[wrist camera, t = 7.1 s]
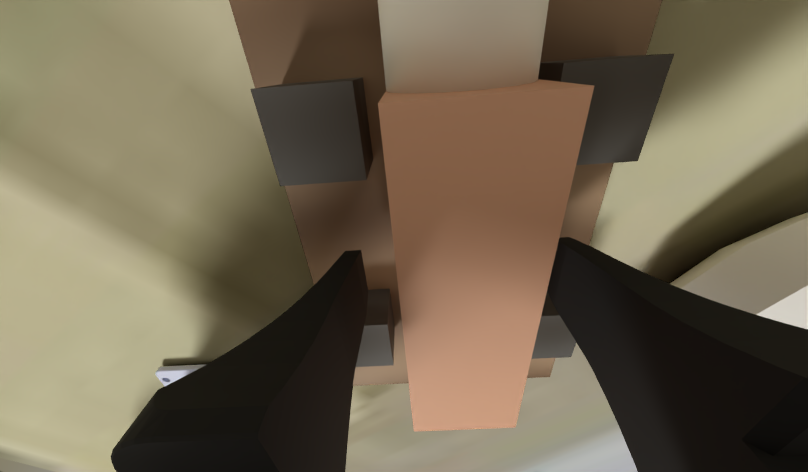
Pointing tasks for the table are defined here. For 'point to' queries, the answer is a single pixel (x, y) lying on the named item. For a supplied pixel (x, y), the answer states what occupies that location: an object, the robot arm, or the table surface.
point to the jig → (363, 151)
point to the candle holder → (759, 273)
